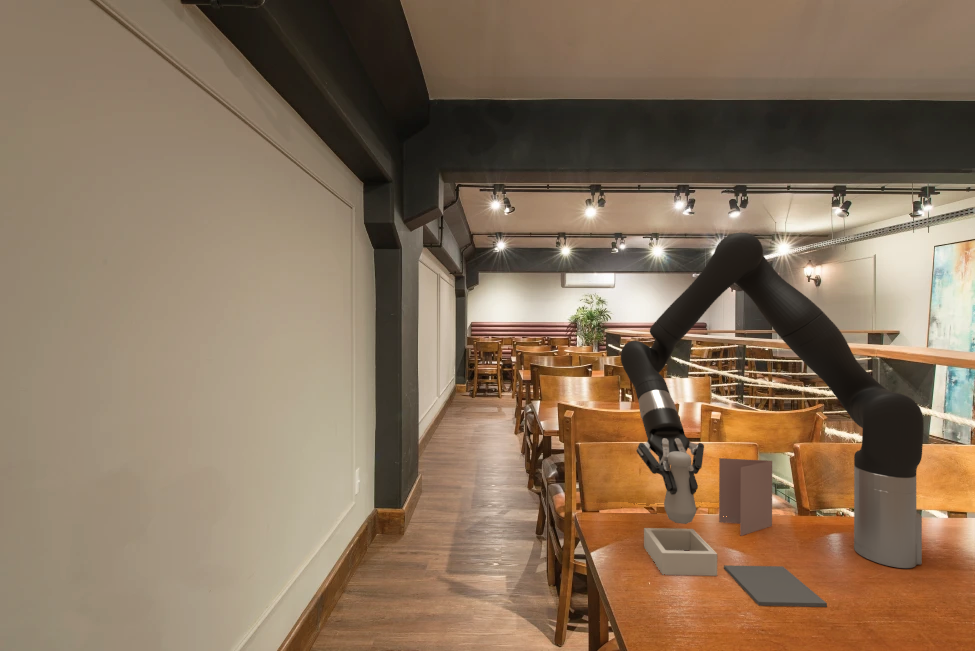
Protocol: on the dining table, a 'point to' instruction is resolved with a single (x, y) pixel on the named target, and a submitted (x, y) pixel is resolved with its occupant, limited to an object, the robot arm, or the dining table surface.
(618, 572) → the dining table surface
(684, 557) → the collar
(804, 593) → the mat
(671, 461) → the salt shaker
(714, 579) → the dining table surface
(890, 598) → the dining table surface
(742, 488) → the greeting card
